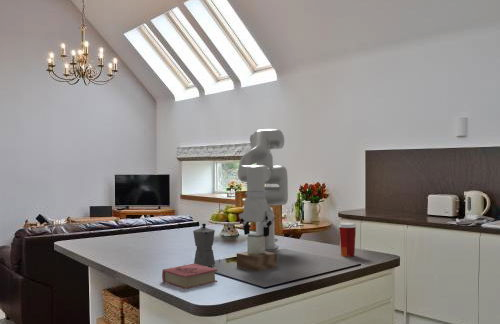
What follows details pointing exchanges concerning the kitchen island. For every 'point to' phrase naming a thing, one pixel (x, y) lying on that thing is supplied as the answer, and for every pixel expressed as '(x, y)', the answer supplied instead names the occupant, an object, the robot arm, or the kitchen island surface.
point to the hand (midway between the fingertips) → (256, 235)
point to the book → (189, 276)
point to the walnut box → (257, 261)
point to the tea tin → (256, 244)
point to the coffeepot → (204, 246)
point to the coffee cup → (347, 239)
